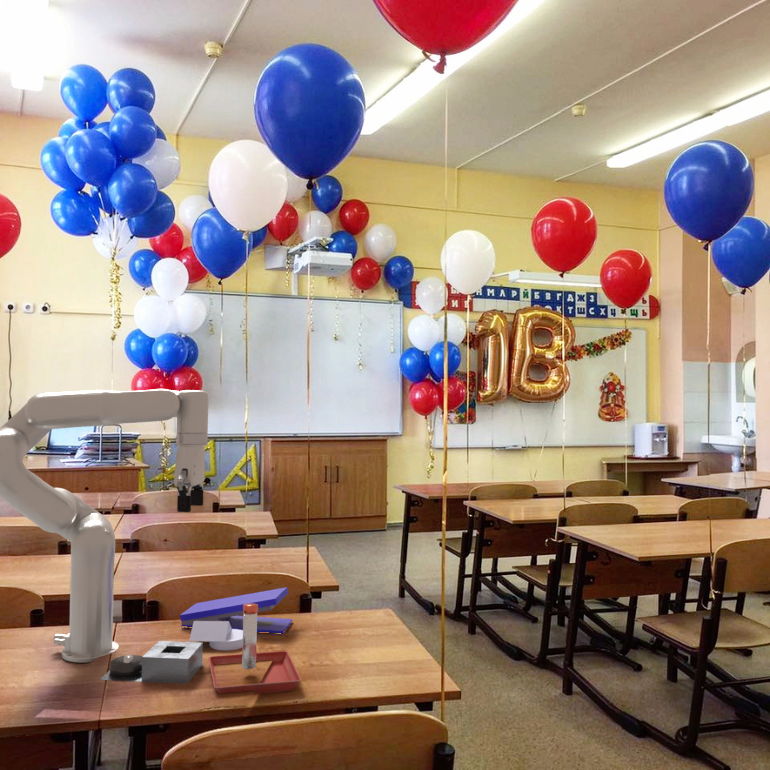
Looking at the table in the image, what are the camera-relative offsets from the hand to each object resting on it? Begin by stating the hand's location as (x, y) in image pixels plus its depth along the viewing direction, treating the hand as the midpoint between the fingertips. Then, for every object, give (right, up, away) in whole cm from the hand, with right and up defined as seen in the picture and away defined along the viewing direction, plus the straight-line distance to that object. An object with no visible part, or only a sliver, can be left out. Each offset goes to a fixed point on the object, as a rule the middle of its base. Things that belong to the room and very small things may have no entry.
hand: (190, 508), depth 183 cm
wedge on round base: (+8, -34, -4) cm, 35 cm away
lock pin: (+19, -31, -23) cm, 43 cm away
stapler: (+9, -34, +14) cm, 38 cm away
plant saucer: (+20, -34, -23) cm, 46 cm away
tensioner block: (-2, -33, -22) cm, 40 cm away
